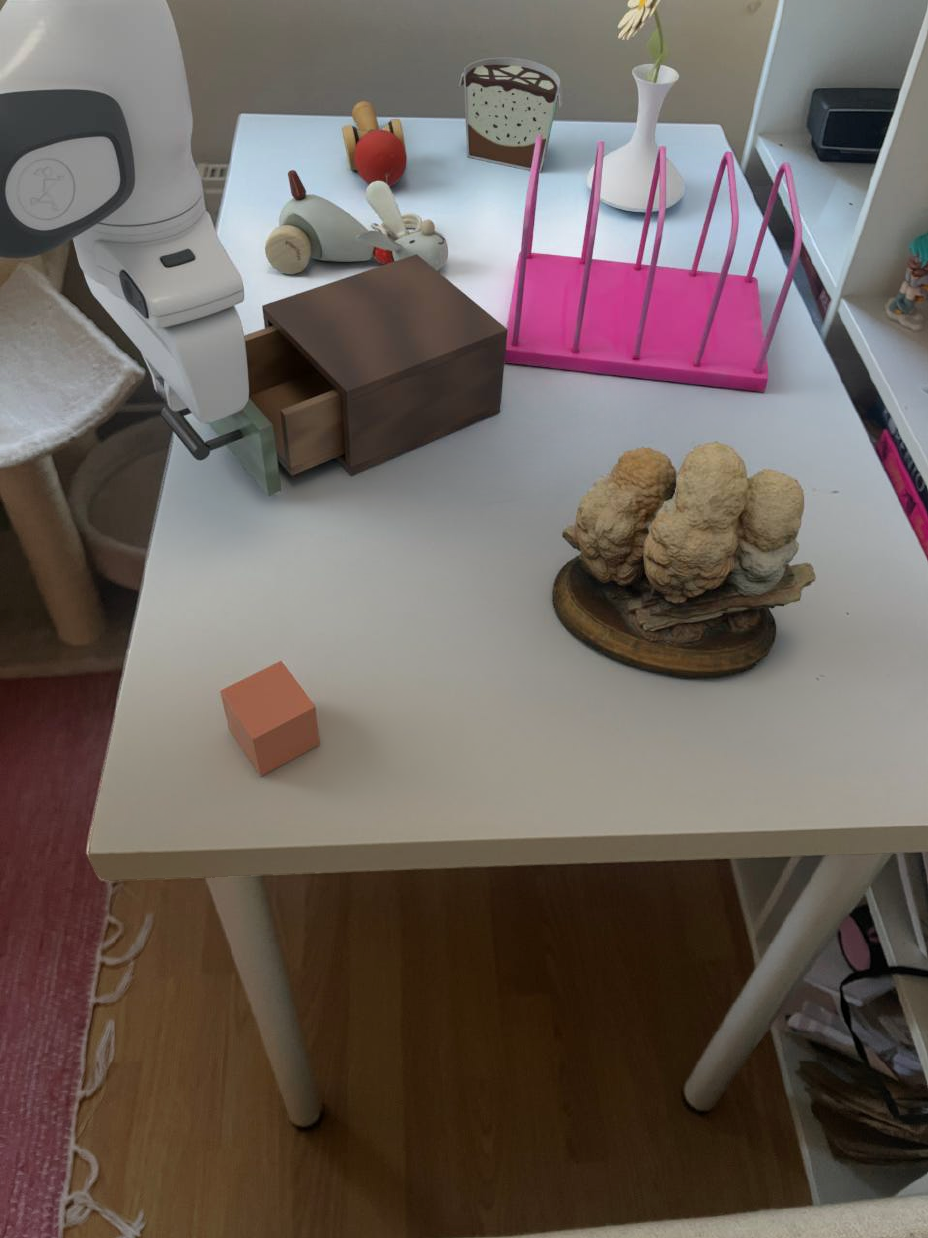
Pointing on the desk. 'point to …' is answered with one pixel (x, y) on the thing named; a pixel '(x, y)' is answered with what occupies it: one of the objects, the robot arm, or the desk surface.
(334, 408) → the drawer
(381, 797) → the desk surface
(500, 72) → the food container
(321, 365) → the cabinet
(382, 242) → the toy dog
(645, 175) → the flower in vase
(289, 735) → the block
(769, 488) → the owl figurine
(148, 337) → the robot arm
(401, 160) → the kendama
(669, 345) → the file sorter
